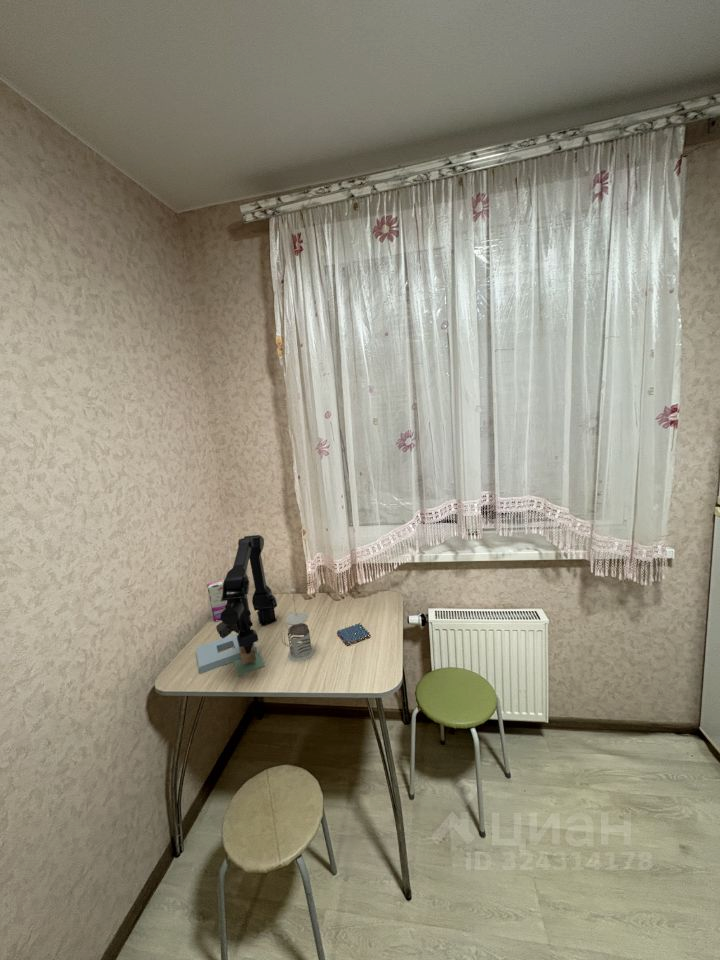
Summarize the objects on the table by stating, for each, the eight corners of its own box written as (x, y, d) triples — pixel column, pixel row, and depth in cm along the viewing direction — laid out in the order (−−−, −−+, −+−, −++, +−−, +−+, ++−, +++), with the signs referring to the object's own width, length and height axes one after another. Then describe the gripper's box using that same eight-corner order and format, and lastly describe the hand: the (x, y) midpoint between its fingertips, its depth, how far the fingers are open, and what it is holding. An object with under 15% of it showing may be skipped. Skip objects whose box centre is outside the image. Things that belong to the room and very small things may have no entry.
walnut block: (253, 653, 138) (249, 631, 136) (256, 660, 134) (252, 637, 132) (240, 658, 136) (236, 635, 134) (243, 665, 132) (239, 641, 130)
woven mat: (335, 634, 149) (335, 630, 148) (360, 626, 153) (359, 621, 153) (346, 648, 139) (345, 643, 139) (371, 638, 144) (371, 634, 143)
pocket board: (249, 635, 153) (249, 629, 153) (257, 652, 141) (256, 646, 141) (196, 653, 145) (195, 647, 144) (199, 673, 132) (198, 667, 132)
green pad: (259, 653, 141) (258, 652, 141) (264, 666, 133) (264, 665, 133) (234, 662, 137) (233, 661, 137) (238, 676, 129) (238, 675, 129)
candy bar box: (237, 609, 176) (232, 576, 173) (239, 614, 171) (234, 580, 169) (212, 617, 171) (206, 583, 168) (213, 622, 166) (207, 587, 164)
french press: (320, 651, 138) (312, 587, 134) (294, 667, 130) (284, 600, 126) (304, 641, 145) (295, 580, 141) (278, 657, 137) (268, 592, 133)
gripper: (212, 605, 136) (219, 645, 139) (219, 629, 120) (227, 673, 122) (244, 596, 141) (250, 634, 144) (255, 618, 124) (261, 660, 127)
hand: (247, 650), depth 134 cm, fingers closed on walnut block, 4 cm apart
